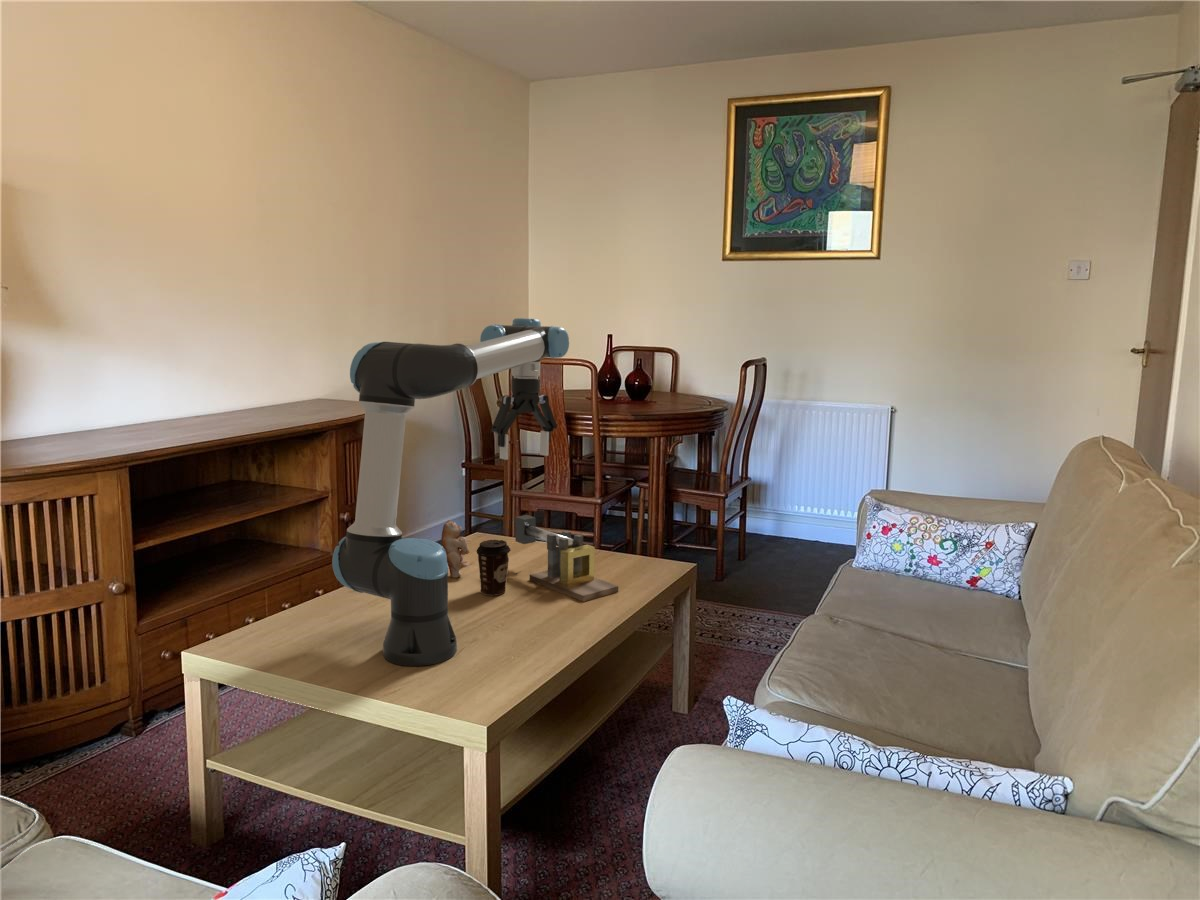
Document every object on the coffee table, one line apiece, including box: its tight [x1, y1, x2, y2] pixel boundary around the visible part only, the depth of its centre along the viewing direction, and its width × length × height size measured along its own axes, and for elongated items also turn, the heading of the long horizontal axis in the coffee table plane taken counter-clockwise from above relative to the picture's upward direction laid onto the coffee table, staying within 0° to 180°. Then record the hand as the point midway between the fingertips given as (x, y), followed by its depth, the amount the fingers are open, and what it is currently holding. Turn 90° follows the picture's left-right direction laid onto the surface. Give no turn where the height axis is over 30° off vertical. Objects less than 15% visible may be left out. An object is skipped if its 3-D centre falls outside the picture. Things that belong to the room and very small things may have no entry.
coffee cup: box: [476, 539, 511, 597], centre depth 215 cm, size 9×8×13 cm
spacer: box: [561, 544, 596, 587], centre depth 220 cm, size 9×3×9 cm, turn 132°
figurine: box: [440, 519, 470, 579], centre depth 228 cm, size 6×8×15 cm
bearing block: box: [529, 530, 619, 603], centre depth 221 cm, size 12×22×13 cm, turn 42°
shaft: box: [514, 514, 576, 549], centre depth 229 cm, size 4×22×7 cm, turn 42°
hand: (524, 457), depth 225 cm, fingers open, 13 cm apart
